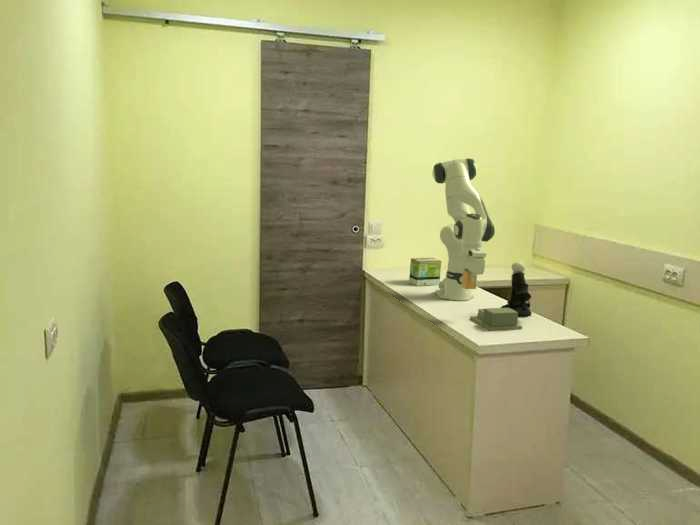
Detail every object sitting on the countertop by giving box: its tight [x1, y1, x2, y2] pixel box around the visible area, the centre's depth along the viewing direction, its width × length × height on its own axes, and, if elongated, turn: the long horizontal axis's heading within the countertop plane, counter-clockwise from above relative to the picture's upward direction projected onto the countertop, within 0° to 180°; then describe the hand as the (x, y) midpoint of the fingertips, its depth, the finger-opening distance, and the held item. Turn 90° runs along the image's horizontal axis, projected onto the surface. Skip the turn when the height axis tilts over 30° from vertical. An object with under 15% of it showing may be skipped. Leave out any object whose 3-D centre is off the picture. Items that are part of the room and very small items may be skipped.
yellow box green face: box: [462, 268, 478, 290], centre depth 266 cm, size 4×5×9 cm
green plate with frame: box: [469, 307, 523, 331], centre depth 261 cm, size 18×16×7 cm
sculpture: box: [500, 261, 532, 318], centre depth 275 cm, size 15×24×25 cm, turn 179°
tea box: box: [408, 257, 442, 287], centre depth 338 cm, size 15×10×15 cm
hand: (469, 280), depth 266 cm, fingers closed on yellow box green face, 4 cm apart
